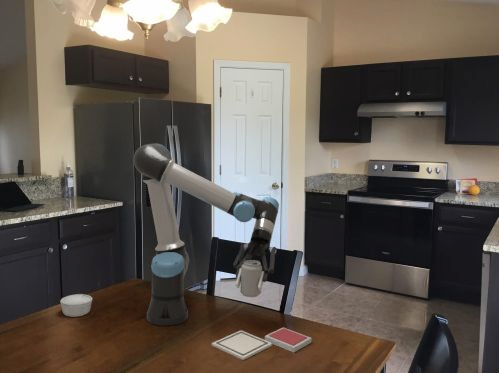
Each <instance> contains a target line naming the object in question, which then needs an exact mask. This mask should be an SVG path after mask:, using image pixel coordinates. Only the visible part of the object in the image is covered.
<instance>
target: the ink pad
mask: <svg viewBox="0 0 499 373" xmlns="http://www.w3.org/2000/svg"><path fill="white" fill-rule="evenodd" d="M264 340H266V341H268V342H271V343H272V345H274V346H277V347H279V348H282V349H284V350H286V351H289V352H291V353H296V352H298V351H299V350H301V349H303V348H304V347H307V346H308V345H309V344H311V343H312V337H310V336H307V335H305V334H302V333H300V332H296V331H294V330H291V329H288V328H286V327H281V328H279V329H277V330H275V331H273V332H270V333H268V334H267V335H264Z"/></svg>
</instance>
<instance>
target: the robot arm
mask: <svg viewBox="0 0 499 373" xmlns="http://www.w3.org/2000/svg"><path fill="white" fill-rule="evenodd" d="M133 165H134V167H135V169H136V170H137V171H138V172H139V173H140V174H141V179H142V182H143V183H145V184H146V185H147V189H148V195H149V200H150V207H151V212H152V217H153V222H154V228H155V233H156V238H157V245H156V247H155V248H154V250H155V255H154V256H153V258H152V260H151V264H150V267H151V269H150V270H151V299H150V301H149V302H150V303H149V306H148V309H147V311H146V320H147V322H149V323H150V324H152V325H156V326H165V327H166V326H175V325H179V324H182V323H184V322H185V321H187V320H188V317H189V310H188V307H187V304H186V300H185V298H184V288H185V287H184V284H185V282H184V279H185V275H186V272H188V268H189V267H190V266H189V265H190V257H189V254H188V252H187V250H186V244H185V241H183V240H181V239H180V234H179V233H180V232H179V227H178V220H177V216H176V211H175V205H174V200H173V194H172V190H171V188H172V187H171V186H173V187H175V188H177V189H179V190H181V191H183V192H185V193H187V194H189V195H190V196H193V197H195V198H197V199H199V200H201V201H203V202H205V203H207V204H208V205H211V206H213V207H215V208H217V209H218V210H220V211H223V212H225V213H226V214H228V215H230V216H231V217H234V218H235V219H236V220H237V221H238V222H240V223H247V222H250V221H251V220H252V219H255V223H254V227H253V229H252V230H253V231H252V233H251V237H250V241H249V242H248V243H244V242H241V243H240V249H239V251H238V253H237V255H236V257H235V259H234V262H233V264H232V265H233V267H234V269H235V270H236V273H235V278H236V282H235V286H236V288H238V289H240V287H241V266H242V265H243V264H244V263H243V262H244V261H246V260H252V258H253V257H254V256H256V257H257V256H258V257H261V260H262V265H263V266H262V267H263V270H262V272H261V276H260V280H259V284H258V289H259V291H261V292H262V289H263V288H262V287H263V285H264V283H267V280H268V275H269V274H272V275H273V274H274V272H275V259H276V257H275V256H276V254H277V252H278V251H277V247H276V246H271V241H272V238H273V233H274V228H275V224H276V220H277V218H278V214H279V207H280V204H279V201H278V200H277V199H275V198H273V197H272V196H271V197H267V196H266V197H263V198H262V199H261V200H260V199H256V198H254V197H251V196H248V195H245V194H243V193H239V192H237V191H233V192H231V191H230V190H228V189H226V188H224V187H222V186H220V185H218V184H217V183H214V182H213V181H210V180H209V179H206V178H205V177H203V176H201V175H198V174H197V173H195V172H193V171H191V170H189V169H187V168H185V167H183V166H181V165H179V164H177V163H176V162H175V160H174V159H173V158H172V155H171V153H170V151H169V149H167V147H165V146H164V145H163V144H161V143H157V142H156V143H148V144H143V145H141V146H140V147H138V148H137V149H136V151H135V152H134V155H133ZM247 249H249V250H248V251H247ZM246 251H247V253H245V252H246ZM268 252H269V253H270V258H269V267H268V262H267V259H266V258H267V257H266V254H267V253H268ZM245 254H246V255H245ZM244 255H245V256H244Z"/></svg>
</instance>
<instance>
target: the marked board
mask: <svg viewBox="0 0 499 373" xmlns="http://www.w3.org/2000/svg"><path fill="white" fill-rule="evenodd" d="M211 346H212V347H214V348H217V349H219V350H220V351H223V352H225V353H227V354H229V355H231V356H234V357H236V358H237V359H239V360H242V361H245V360H247V359H248V358H251V357H252V356H253V357H254V355H257V354H258V353H260V352H262V351H264V350H266V349H268V348H270V347H272V346H273V344H272V343H271V342H268V341H266V340H265V339H264V338H260V337H258V336H256V335H253V334H251V333H248V332H246V331H244V330H238V331H236V332H234V333H232V334H230V335H229V334H228V335H226V336H225V337H223V338H220V339H218V340H215V341H213V342H211Z"/></svg>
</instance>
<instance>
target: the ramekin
mask: <svg viewBox="0 0 499 373" xmlns="http://www.w3.org/2000/svg"><path fill="white" fill-rule="evenodd" d="M59 302H60V305H61V310H62V313H63V315H64V316H67V317H70V318H71V317H72V318H73V317H74V318H75V317H76V318H77V317H82V316H85V315H87V314H89V313H90V311H91V308H92V302H93V297H92V296H91V295H89V294H83V293H77V294H76V293H75V294H70V295H67V296H65V297H62V298H61V299H60V301H59Z"/></svg>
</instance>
